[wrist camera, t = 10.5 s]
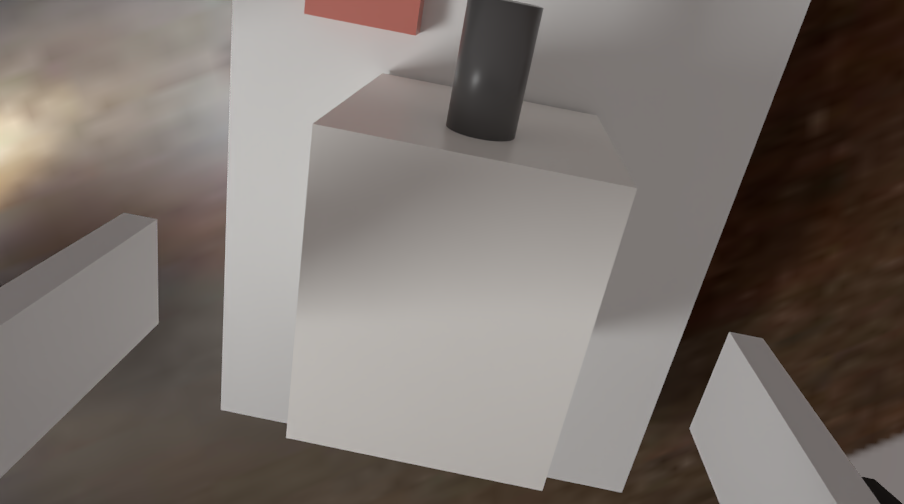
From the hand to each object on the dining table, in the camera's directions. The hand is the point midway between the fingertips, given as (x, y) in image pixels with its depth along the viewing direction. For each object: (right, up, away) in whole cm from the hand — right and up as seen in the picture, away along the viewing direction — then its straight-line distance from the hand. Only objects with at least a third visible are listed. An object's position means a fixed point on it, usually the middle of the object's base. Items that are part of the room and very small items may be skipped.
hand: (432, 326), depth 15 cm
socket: (+1, +5, +10) cm, 11 cm away
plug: (+1, +6, +9) cm, 11 cm away
